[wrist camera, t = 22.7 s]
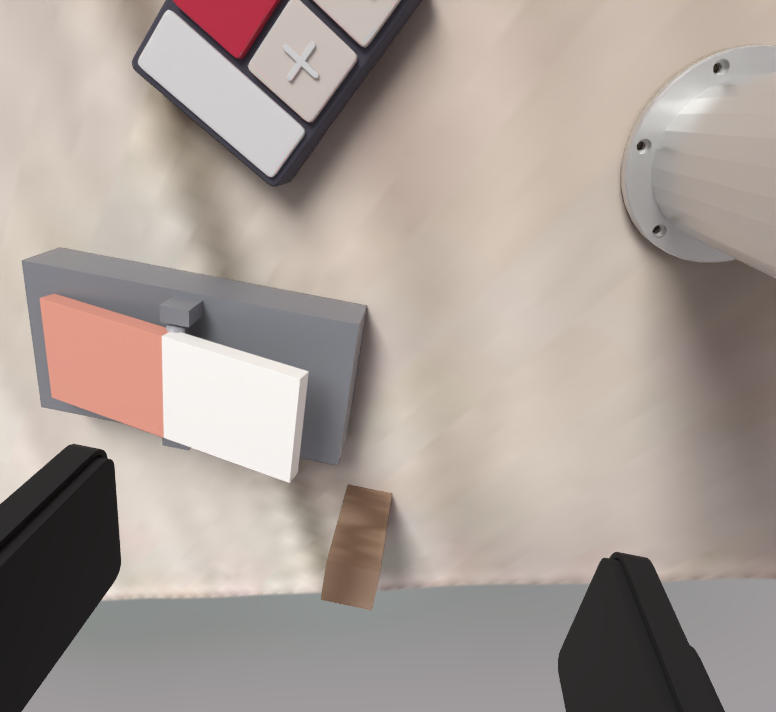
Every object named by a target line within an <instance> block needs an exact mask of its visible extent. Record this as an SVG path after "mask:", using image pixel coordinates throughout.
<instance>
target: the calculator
mask: <svg viewBox="0 0 776 712" xmlns="http://www.w3.org/2000/svg"><path fill="white" fill-rule="evenodd" d="M421 1H422V0H166V1H165V3H164V4H163V6H162V8H161V10H160V12H159V13H158V15H157V17H156V19H155V20H154V22H153V24H152V26H151V28H150V29H149V31H148V33H147V35H146V36H145V38H144V40H143V42H142V44H141V45H140V47H139V49H138V51H137V52H136V54H135V56H134V58H133V60H132V66H133V68H134V70H135V71H136V72H137V73H138V74H140V75H141V76H142V77H143V78H144V79H145V80H147V81H148V82H149V83H150V84H151V85H153V86H154V87H155V88H156V89H157V90H158V91H160V92H161V93H162V94H163V95H164V96H165V97H167V98H168V99H169V100H170V101H171V102H172V103H174V104H175V105H176V106H177V107H178V108H180V109H181V110H182V111H183V112H184V113H185V114H187V115H188V116H189V117H190V118H191V119H192V120H194V121H195V122H196V123H197V124H198V125H199V126H201V127H202V128H203V129H204V130H205V131H207V132H208V133H209V134H210V135H211V136H212V137H214V138H215V139H216V140H217V141H218V142H219V143H221V144H222V145H223V146H224V147H225V148H226V149H228V150H229V151H230V152H231V153H232V154H234V155H235V156H236V157H237V158H238V159H239V160H241V161H242V162H243V163H244V164H245V165H246V166H248V167H249V168H250V169H251V170H252V171H253V172H255V173H256V174H257V175H258V176H259V177H261V178H262V179H263V180H264V181H265V182H266V183H268V184H269V185H271V186H278V185H281V184H285V183H288V182H290V181H291V180H292V178H293V177H294V176H295V174H296V173H297V172H298V170H299V169H300V167H301V166H302V165H303V163H304V162H305V161H306V159H307V158H308V156H309V155H310V154H311V152H312V151H313V150H314V148H315V147H316V145H317V144H318V143H319V141H320V140H321V138H322V137H323V135H324V134H325V132H326V130H327V129H328V128H329V126H330V125H331V123H332V122H333V121H334V119H335V118H336V117H337V115H338V114H339V113H340V111H341V110H342V109H343V107H344V106H345V104H346V103H347V102H348V100H349V99H350V98H351V96H352V95H353V94H354V92H355V91H356V90H357V88H358V87H359V85H360V84H361V83H362V81H363V80H364V79H365V77H366V76H367V75H368V73H369V72H370V71H371V69H372V68H373V66H374V65H375V64H376V62H377V61H378V60H379V58H380V57H381V56H382V54H383V53H384V52H385V50H386V49H387V47H388V46H389V45H390V43H391V42H392V41H393V39H394V38H395V36H396V35H397V34H398V32H399V31H400V30H401V28H402V27H403V25H404V24H405V23H406V21H407V20H408V19H409V17H410V16H411V14H412V13H413V12H414V10H415V9H416V8H417V6H418V5H419V3H420V2H421Z"/></svg>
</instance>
